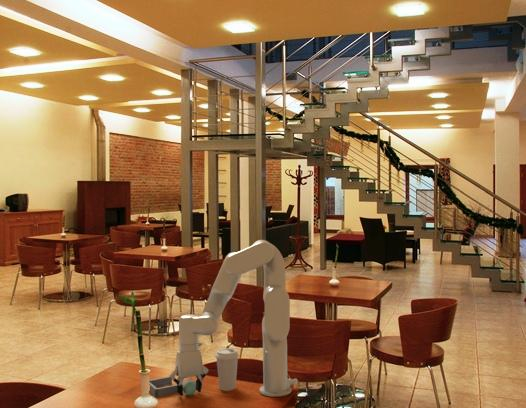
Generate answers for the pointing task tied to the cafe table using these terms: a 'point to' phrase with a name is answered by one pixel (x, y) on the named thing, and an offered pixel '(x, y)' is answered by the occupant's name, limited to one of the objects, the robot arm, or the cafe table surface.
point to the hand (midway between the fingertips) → (189, 392)
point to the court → (164, 390)
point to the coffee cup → (227, 368)
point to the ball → (189, 388)
